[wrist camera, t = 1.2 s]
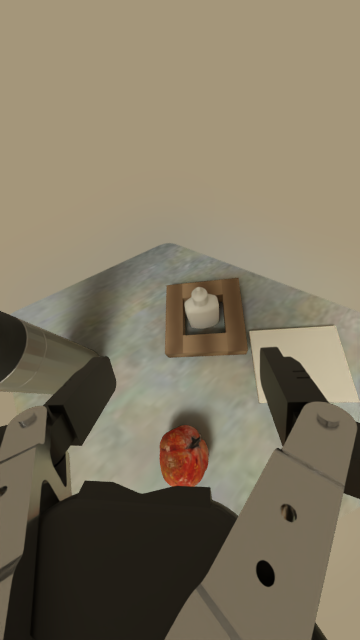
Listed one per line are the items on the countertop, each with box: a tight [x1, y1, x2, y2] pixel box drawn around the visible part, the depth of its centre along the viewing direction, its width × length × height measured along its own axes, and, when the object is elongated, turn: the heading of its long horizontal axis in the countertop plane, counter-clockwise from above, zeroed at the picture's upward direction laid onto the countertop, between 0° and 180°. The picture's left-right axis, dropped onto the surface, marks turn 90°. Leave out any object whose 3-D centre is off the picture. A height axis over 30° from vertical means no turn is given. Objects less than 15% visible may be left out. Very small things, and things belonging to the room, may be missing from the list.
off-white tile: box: [249, 326, 359, 403], centre depth 34 cm, size 14×12×1 cm
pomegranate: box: [160, 425, 209, 487], centre depth 29 cm, size 7×7×10 cm
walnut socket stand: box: [165, 278, 248, 358], centre depth 39 cm, size 14×14×3 cm
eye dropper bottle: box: [184, 287, 219, 329], centre depth 35 cm, size 4×6×12 cm
